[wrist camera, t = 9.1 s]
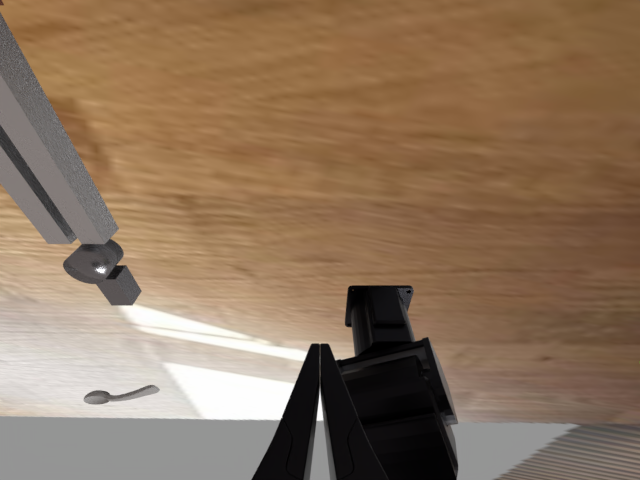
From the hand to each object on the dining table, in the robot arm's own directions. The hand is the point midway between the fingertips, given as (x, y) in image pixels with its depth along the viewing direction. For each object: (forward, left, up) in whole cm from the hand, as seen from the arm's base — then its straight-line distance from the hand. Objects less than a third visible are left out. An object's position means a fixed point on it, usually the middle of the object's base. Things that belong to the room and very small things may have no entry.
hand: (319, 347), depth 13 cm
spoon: (-33, +30, -13) cm, 47 cm away
